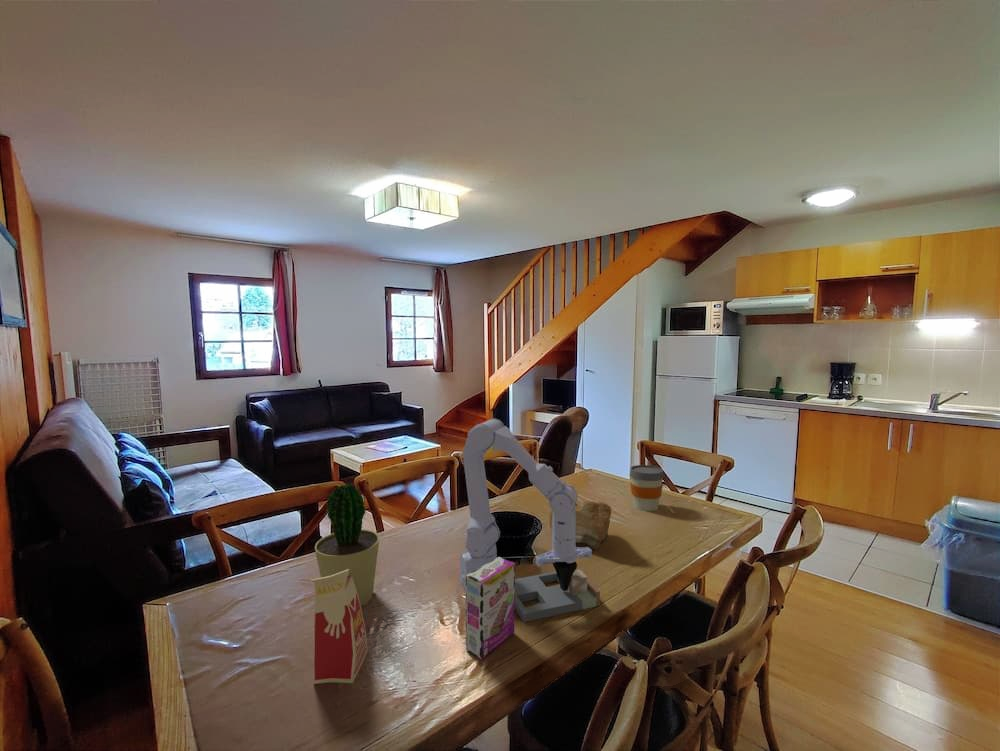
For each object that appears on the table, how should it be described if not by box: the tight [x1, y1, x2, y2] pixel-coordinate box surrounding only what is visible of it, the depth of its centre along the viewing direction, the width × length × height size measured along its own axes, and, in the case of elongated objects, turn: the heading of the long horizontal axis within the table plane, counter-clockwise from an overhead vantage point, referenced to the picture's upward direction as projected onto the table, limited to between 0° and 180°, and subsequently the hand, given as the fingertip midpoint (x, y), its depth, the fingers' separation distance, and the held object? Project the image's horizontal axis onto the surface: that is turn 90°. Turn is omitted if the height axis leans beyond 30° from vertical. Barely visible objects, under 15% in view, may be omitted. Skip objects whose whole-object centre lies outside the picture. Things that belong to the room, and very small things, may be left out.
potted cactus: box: [314, 482, 380, 607], centre depth 112 cm, size 15×15×30 cm
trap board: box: [514, 568, 601, 623], centre depth 112 cm, size 20×15×4 cm
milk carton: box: [310, 569, 369, 685], centre depth 88 cm, size 9×9×20 cm
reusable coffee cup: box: [629, 464, 664, 512], centre depth 174 cm, size 13×13×15 cm
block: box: [568, 569, 588, 595], centre depth 112 cm, size 4×4×4 cm
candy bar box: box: [465, 556, 516, 660], centre depth 95 cm, size 11×5×16 cm, turn 141°
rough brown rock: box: [549, 500, 612, 550], centre depth 146 cm, size 23×17×15 cm
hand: (564, 588), depth 111 cm, fingers closed
